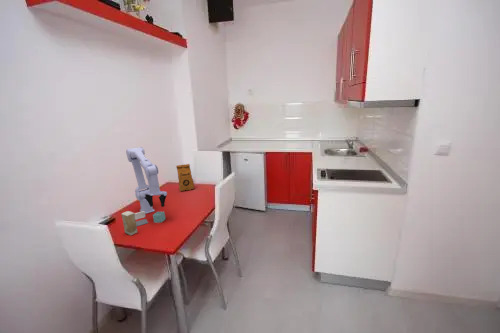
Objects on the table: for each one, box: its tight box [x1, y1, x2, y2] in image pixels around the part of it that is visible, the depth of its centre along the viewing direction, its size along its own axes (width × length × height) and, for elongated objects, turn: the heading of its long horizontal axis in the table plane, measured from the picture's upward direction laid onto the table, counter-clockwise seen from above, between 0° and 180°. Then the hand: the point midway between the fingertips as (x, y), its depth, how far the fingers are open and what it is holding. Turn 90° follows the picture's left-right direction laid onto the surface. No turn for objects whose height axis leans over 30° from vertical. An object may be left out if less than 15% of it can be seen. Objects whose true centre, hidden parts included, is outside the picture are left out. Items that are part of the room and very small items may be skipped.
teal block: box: [152, 211, 166, 224], centre depth 151 cm, size 5×5×5 cm
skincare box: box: [121, 210, 138, 236], centre depth 137 cm, size 6×4×12 cm
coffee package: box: [175, 163, 195, 192], centre depth 203 cm, size 10×12×22 cm
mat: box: [136, 218, 149, 227], centre depth 150 cm, size 7×7×1 cm
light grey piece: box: [134, 211, 146, 221], centre depth 150 cm, size 13×12×4 cm
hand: (157, 206), depth 149 cm, fingers open, 7 cm apart
